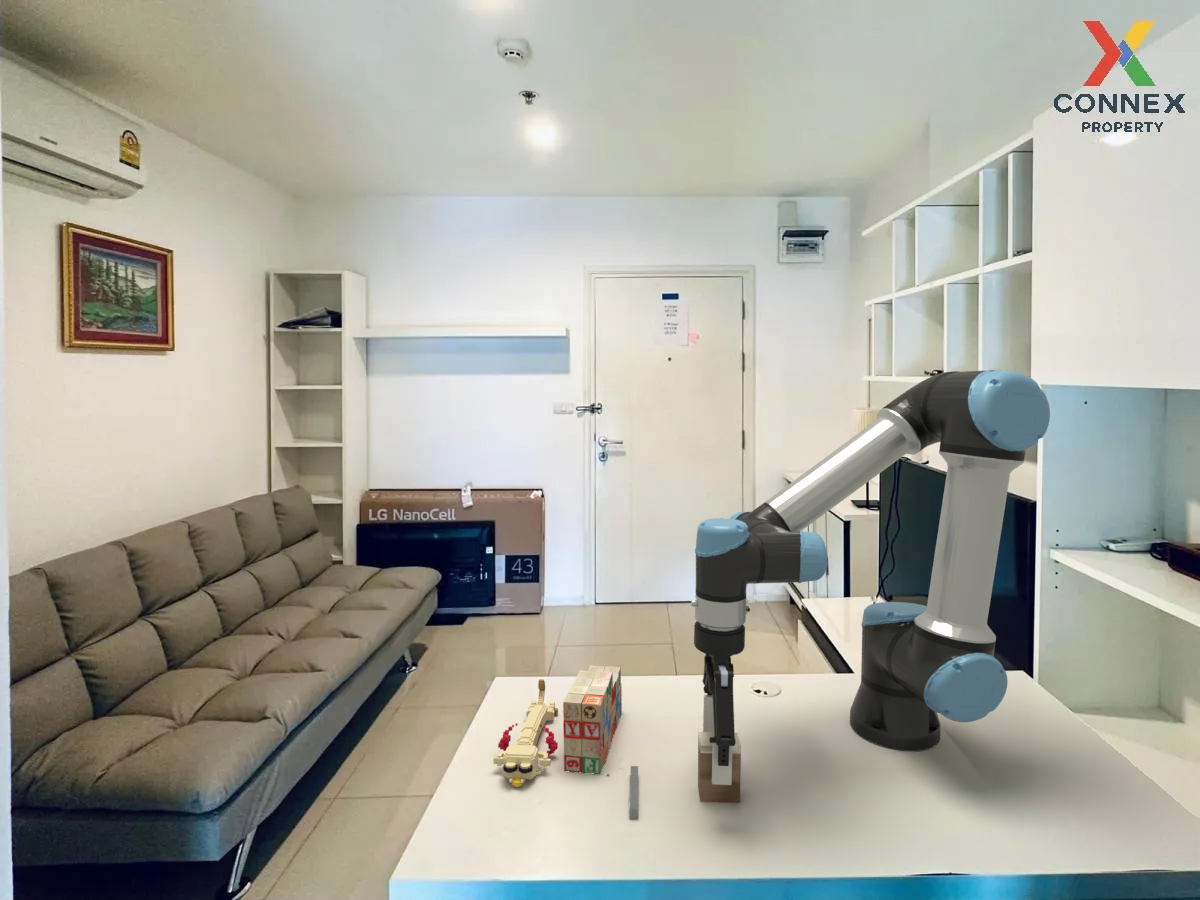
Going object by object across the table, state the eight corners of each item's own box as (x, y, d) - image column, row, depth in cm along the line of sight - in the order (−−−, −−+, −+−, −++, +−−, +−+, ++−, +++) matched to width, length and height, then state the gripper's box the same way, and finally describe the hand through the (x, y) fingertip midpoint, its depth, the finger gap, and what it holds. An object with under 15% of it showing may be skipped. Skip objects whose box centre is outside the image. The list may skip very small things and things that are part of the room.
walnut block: (736, 787, 106) (737, 732, 105) (740, 803, 102) (740, 746, 102) (697, 786, 107) (698, 731, 106) (700, 802, 103) (700, 745, 102)
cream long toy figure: (517, 720, 131) (484, 787, 106) (517, 675, 131) (484, 731, 106) (568, 722, 130) (547, 789, 105) (568, 677, 130) (547, 733, 105)
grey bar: (638, 775, 110) (638, 766, 110) (638, 819, 99) (637, 808, 99) (630, 775, 110) (630, 765, 110) (629, 818, 99) (629, 808, 99)
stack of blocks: (590, 710, 132) (589, 649, 131) (622, 713, 131) (621, 651, 130) (563, 772, 111) (562, 700, 110) (601, 776, 110) (600, 703, 109)
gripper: (688, 596, 114) (686, 716, 117) (702, 654, 90) (698, 806, 92) (733, 597, 114) (730, 718, 116) (759, 656, 89) (754, 808, 91)
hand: (716, 757), depth 104 cm, fingers open, 13 cm apart
